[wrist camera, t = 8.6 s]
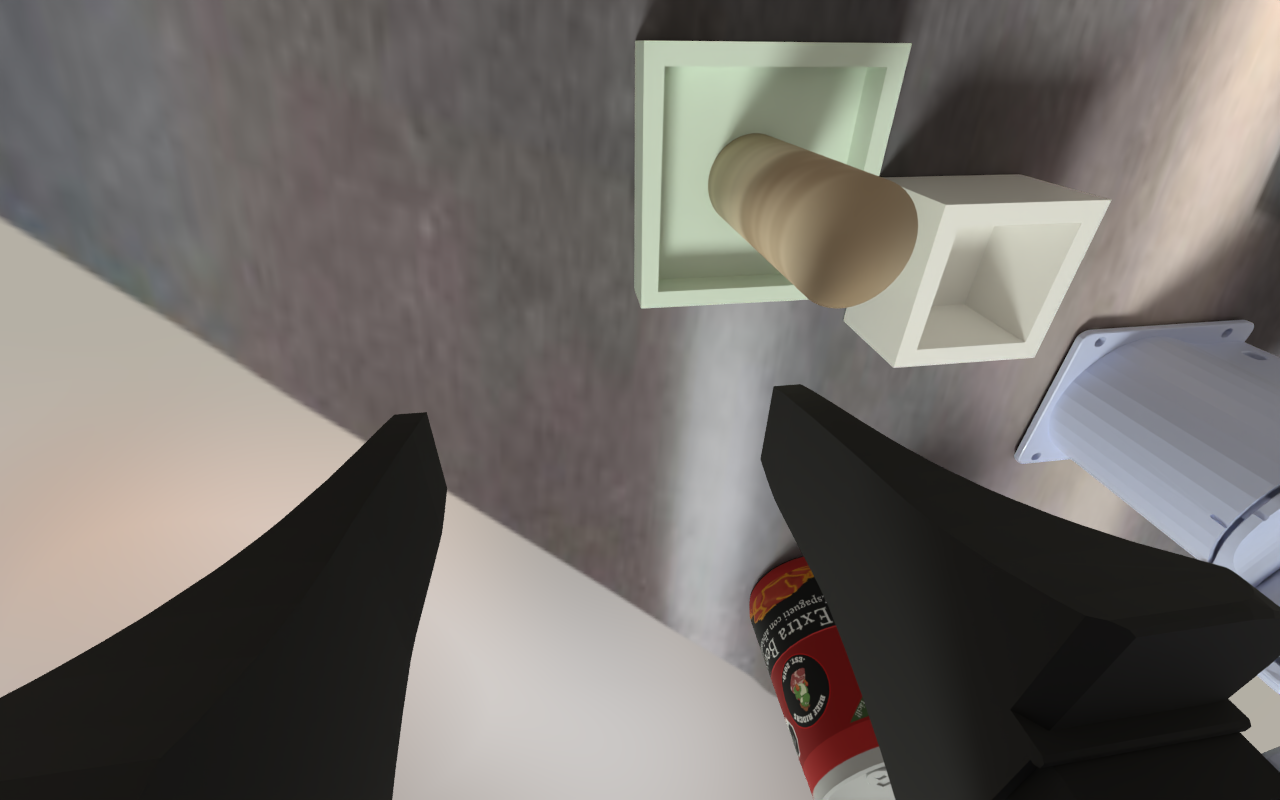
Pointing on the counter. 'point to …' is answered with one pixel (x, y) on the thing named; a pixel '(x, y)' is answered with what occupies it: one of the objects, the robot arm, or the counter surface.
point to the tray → (719, 113)
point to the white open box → (980, 269)
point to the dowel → (815, 218)
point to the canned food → (817, 687)
